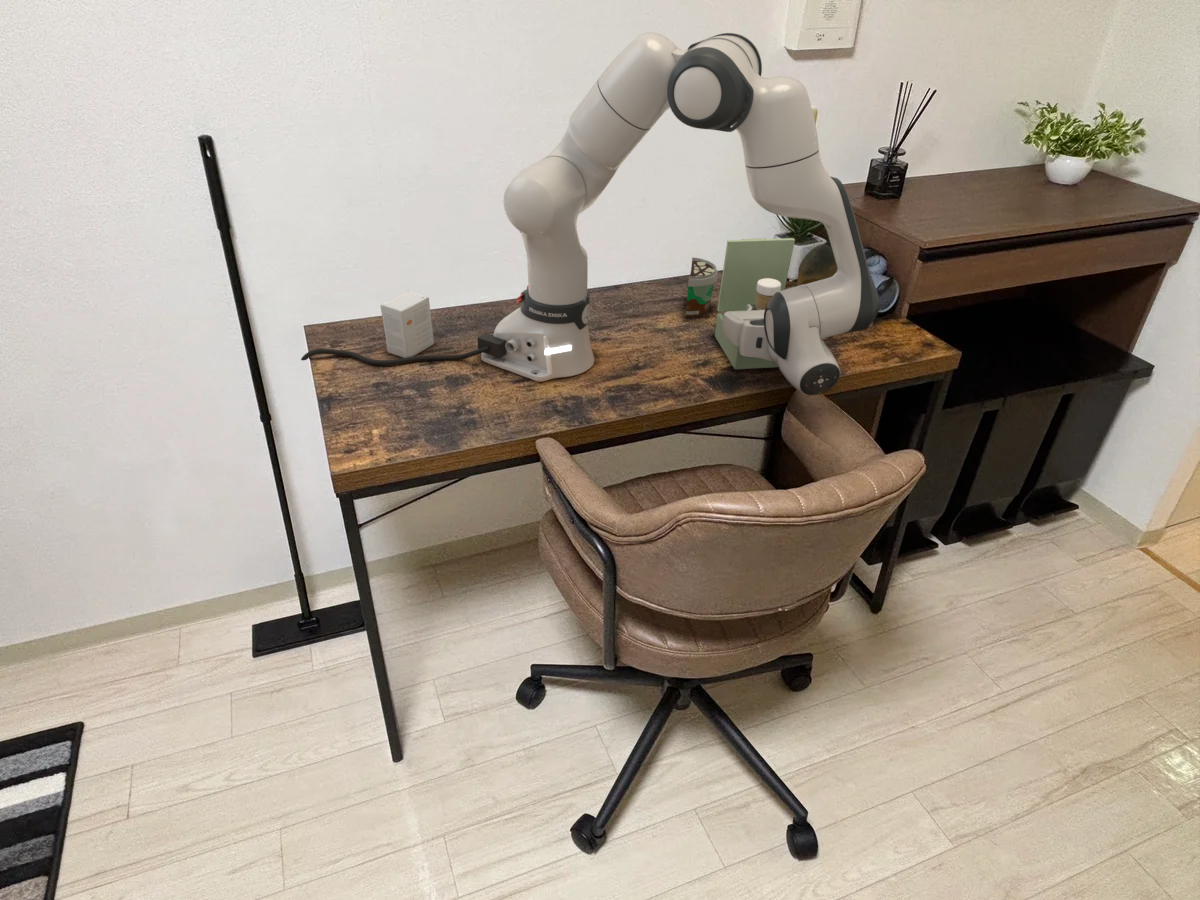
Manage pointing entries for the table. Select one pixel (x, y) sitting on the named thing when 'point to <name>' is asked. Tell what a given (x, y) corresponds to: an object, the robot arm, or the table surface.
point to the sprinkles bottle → (766, 292)
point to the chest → (733, 351)
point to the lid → (752, 269)
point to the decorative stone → (817, 265)
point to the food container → (700, 287)
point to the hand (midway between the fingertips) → (763, 307)
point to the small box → (407, 324)
